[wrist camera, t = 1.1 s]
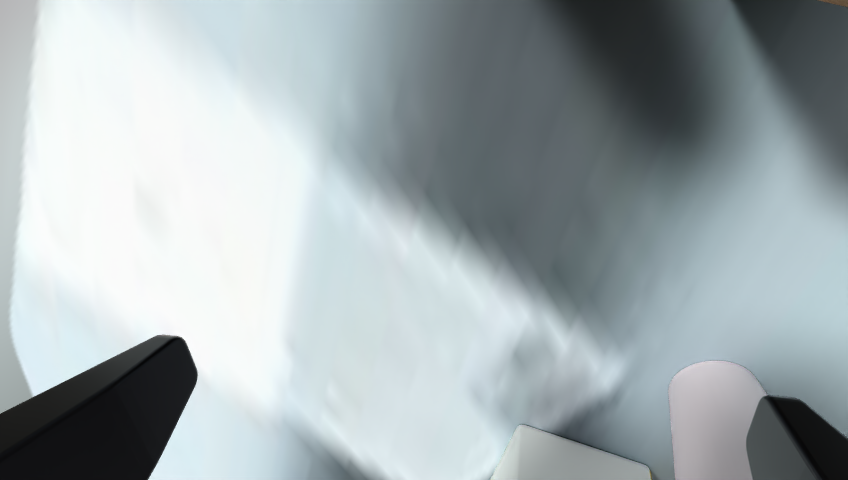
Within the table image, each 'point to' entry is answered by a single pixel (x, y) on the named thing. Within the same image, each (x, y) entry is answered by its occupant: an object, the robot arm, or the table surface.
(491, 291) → the table surface
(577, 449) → the medicine bottle
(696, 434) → the smoothie
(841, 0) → the wooden mallet
